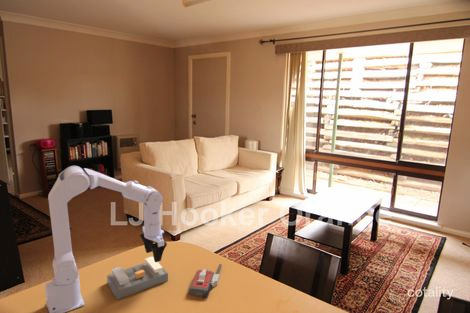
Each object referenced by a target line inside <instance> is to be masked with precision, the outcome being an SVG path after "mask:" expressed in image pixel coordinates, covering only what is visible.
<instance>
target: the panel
mask: <svg viewBox="0 0 470 313" xmlns="http://www.w3.org/2000/svg"><path fill="white" fill-rule="evenodd" d="M140 270H144V271H145V276H144V277H141V278H138V279H136V278H135V272H137V271H140ZM123 271H124V272H125V274H126V275H127V276H128V278H129V282H128V283H125V284H122V285H120V284H119V283H118V281H117V279H116V278H115V276H114V275H113V273H112V272H111V273H110V274H107V275H106V283H107V285H108V287H109V288H110V290H111V291H112V293H113V295H114V297H115V299H116V300H117V301H118V300H120V299H123V298H126V297H128V296H132V295H134V294H137V293H139V292H141V291H144V290H147V289H149V288H152V287H154V286H155V287H156V286H157V285H161V284H163V283H166V282H168V281H169V273H168V271H166V270H165V269H164V268H163V270H162V271H159V272H156V273H154V272H153V270H152V269H151V268H150V267H149V266H148V265H147V263H146V262H144V263H140V264H138V265H134V266H131V267H128V268H125V269H123Z"/></svg>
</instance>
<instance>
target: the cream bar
mask: <svg viewBox="0 0 470 313" xmlns="http://www.w3.org/2000/svg"><path fill="white" fill-rule="evenodd" d="M144 263H147V265H148V266H149V267H150V268H151V269H152V270H153V272H154V273H156V272H159V271H162V270H163V269H164V267H163V266H162V264H160V262H155V261H154V256H149V257H145V258H144Z"/></svg>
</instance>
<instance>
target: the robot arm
mask: <svg viewBox="0 0 470 313" xmlns="http://www.w3.org/2000/svg"><path fill="white" fill-rule="evenodd" d="M97 187H101V188H106V189H108V190H112V191H116V192H119V193H121V195H122V197H123V198H125V199H129V200H131V201H135V202H137V203H140V204H142V203H143V221H144V222H143V226H142V232H143V233H140V234H139V237H140V238H141V241H142V243H143V245H144V249H145V253H146V254H149V253H152V254H153V257H154V261H155V262H158V263H160V262H161V261H162V258H163V253H164V251H165V249H166V248H167V246H168V243H167V242H166V241H165V240H164V238H163V234H165V230H163V229H162V220H161V218H162V214H161V212H162V211H161V205H162V204H163V203H164V198H163V195H162V194H161V193H160V192H159V191H158V190H157V189H156V188H154V187H152V186H151V185H147V186H146V185H143V184H140V183H139V181H137V180H129V181H126V182H123V181H120V180H118V179H116V178H113V177H110V176H109V175H106V174H104V173H101V172H99V171H95V170H92V169H90V168H85V167H84V168H82V167H80V166H78V165H71V166H68V167H66V168H65V169H64V170H62V171H61V172H60V173H59V174H58V177H57V179H56V181H55V183H54V184H53V186H52V188H51V190H50V191H49V193H48V197H47V199H48V208H49V216H50V223H51V231H52V232H51V234H52V239H53V249H54V252H53V253H54V256H53V257H54V258H53V260H52V265H51V266H52V268H53V273H54V276H53V278H52V280H51V281H49V282H47V283H45V285H44V288H45V289H44V290H45V296H46V297H45V299H46V302H45V304H46V305H45V306H46V308H47V309H48V310H47V311H48V313H67V312H70V311H73V310H75V309H78V308H80V307H81V308H82V307H83V306H85V300H84V299H83V296H82V294H81V282H80V273H79V269H78V267H77V264H76V260H75V256H74V255H73V248H72V238H71V228H70V219H69V211H68V210H69V209H68V203H69V202H70V201H71V200H72V199H73V198H74V197H76V196H78V195H80V194H82V193H83V192H85V191H87V190H88V189H90V190H93V189H96V188H97ZM154 242H155V243H154Z"/></svg>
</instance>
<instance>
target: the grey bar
mask: <svg viewBox="0 0 470 313" xmlns="http://www.w3.org/2000/svg"><path fill="white" fill-rule="evenodd" d="M123 270H124V269H123V268H122V266H117V267H114V268H112V269H111V274H112V273H113V275H114V276H115V278H116V279H117V281H118V283H119V284H120V285H122V284H125V283H128V282H129V278H128V276H127V275H126V274H125V272H124V271H123Z"/></svg>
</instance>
